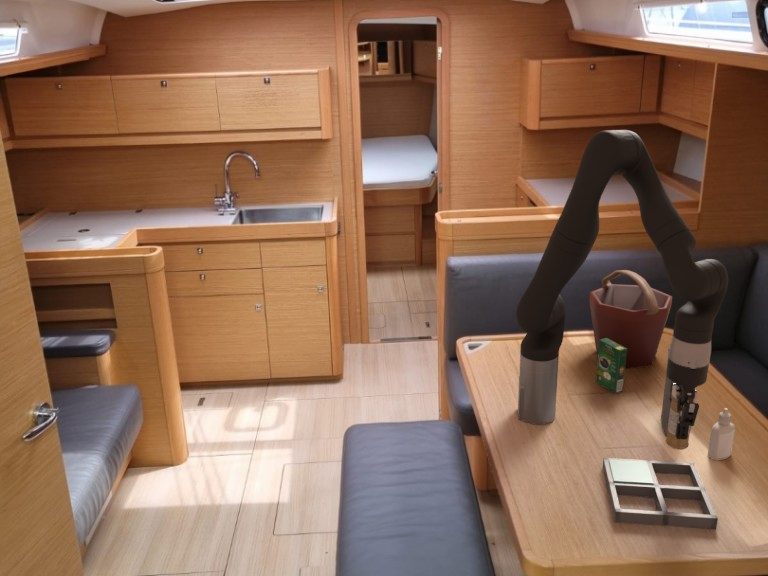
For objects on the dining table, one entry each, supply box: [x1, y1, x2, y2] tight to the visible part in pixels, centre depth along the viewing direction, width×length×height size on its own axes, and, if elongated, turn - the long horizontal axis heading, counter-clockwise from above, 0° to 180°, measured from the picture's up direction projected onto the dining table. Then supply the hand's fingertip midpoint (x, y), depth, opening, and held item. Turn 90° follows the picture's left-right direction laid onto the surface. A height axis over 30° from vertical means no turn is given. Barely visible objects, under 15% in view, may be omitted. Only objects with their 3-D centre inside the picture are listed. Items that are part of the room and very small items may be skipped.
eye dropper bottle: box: [707, 407, 736, 461], centre depth 162 cm, size 4×6×12 cm
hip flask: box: [660, 346, 672, 438], centre depth 175 cm, size 16×4×20 cm, turn 162°
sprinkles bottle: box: [665, 385, 698, 450], centre depth 149 cm, size 5×5×14 cm
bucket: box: [589, 269, 673, 370], centre depth 210 cm, size 24×22×25 cm
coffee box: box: [595, 338, 627, 395], centre depth 194 cm, size 8×3×13 cm, turn 26°
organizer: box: [602, 457, 719, 530], centre depth 151 cm, size 19×19×3 cm
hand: (678, 431), depth 150 cm, fingers closed on sprinkles bottle, 4 cm apart
